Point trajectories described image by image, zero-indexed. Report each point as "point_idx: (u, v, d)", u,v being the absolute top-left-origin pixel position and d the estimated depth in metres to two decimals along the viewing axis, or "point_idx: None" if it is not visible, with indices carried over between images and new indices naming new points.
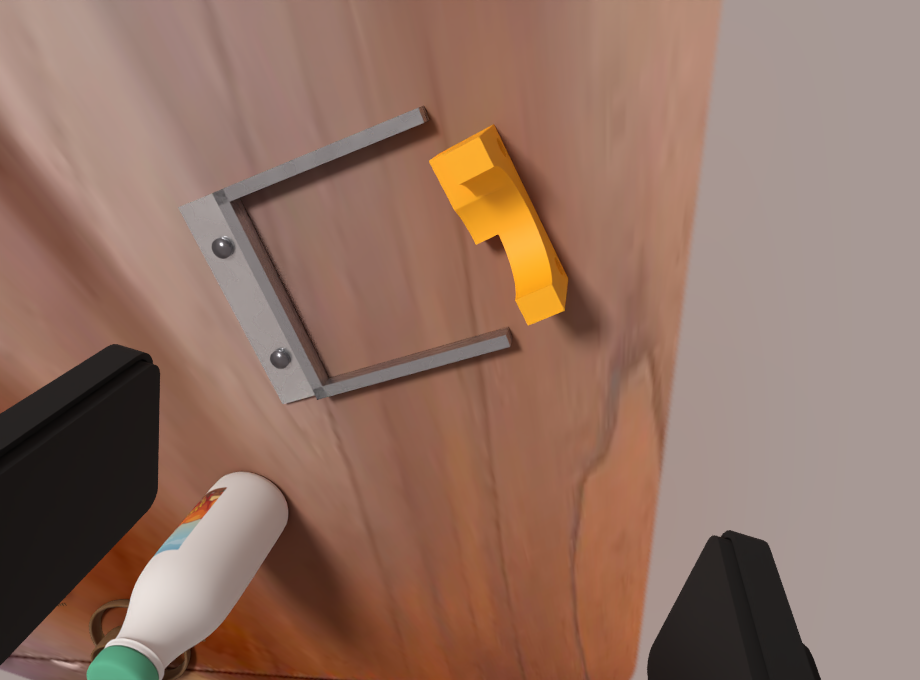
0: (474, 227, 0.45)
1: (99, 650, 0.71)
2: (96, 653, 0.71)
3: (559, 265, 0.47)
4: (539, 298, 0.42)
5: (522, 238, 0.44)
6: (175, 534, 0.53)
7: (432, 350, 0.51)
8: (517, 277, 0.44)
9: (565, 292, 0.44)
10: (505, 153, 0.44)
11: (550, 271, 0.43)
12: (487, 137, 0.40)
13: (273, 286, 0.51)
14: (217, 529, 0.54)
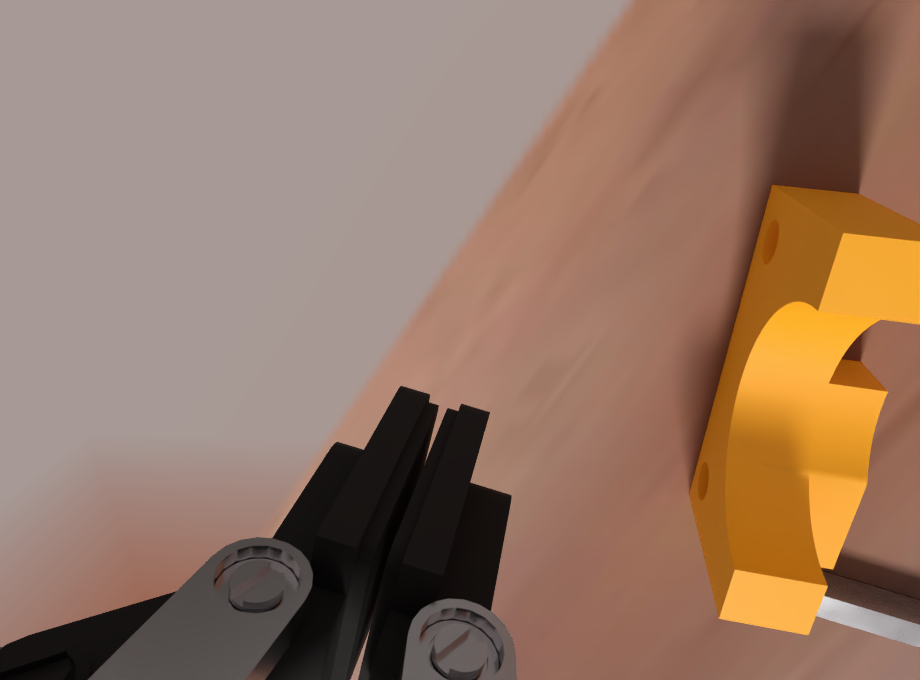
0: (860, 421, 0.21)
1: None
2: None
3: (767, 231, 0.21)
4: (874, 296, 0.15)
5: (792, 353, 0.20)
6: None
7: None
8: (873, 317, 0.18)
9: (802, 213, 0.18)
10: (704, 461, 0.24)
11: (795, 301, 0.17)
12: (709, 560, 0.22)
13: None
14: None
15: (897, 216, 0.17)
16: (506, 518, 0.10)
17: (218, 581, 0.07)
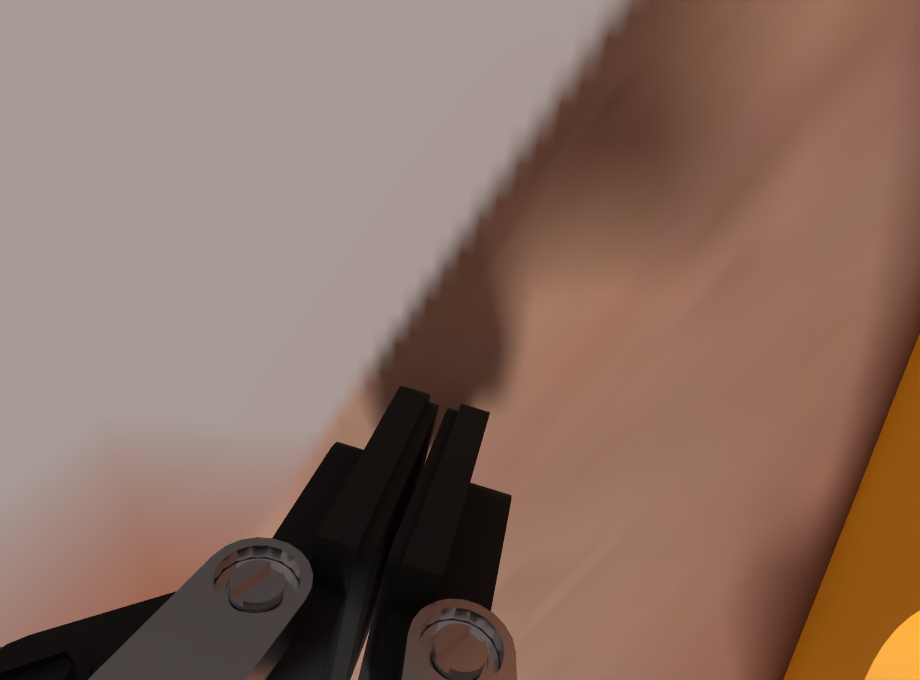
0: None
1: None
2: None
3: None
4: None
5: None
6: None
7: None
8: None
9: None
10: None
11: None
12: None
13: None
14: None
15: None
16: (506, 518, 0.10)
17: (218, 581, 0.07)
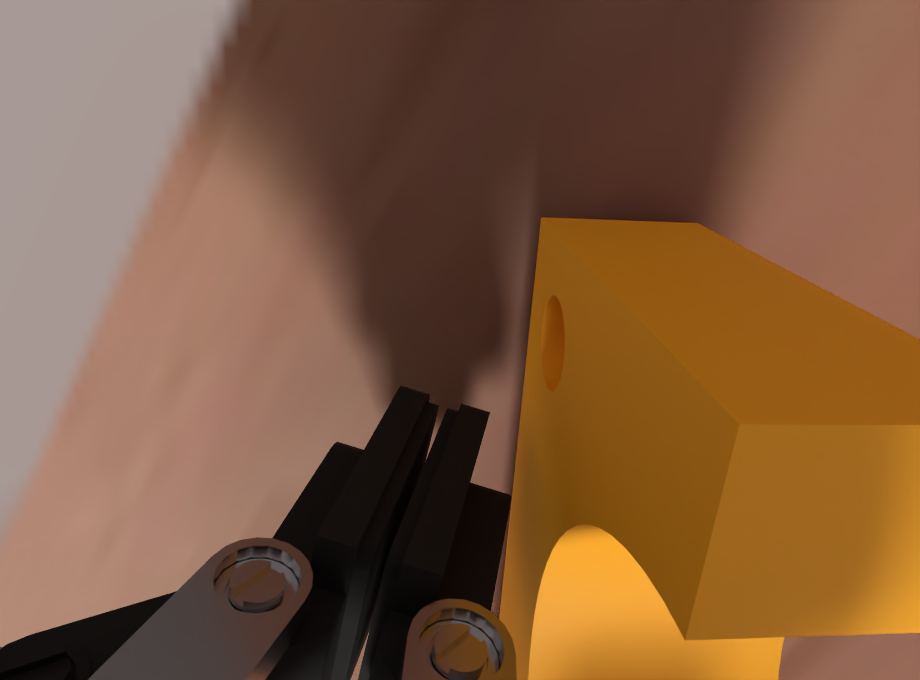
0: (755, 650, 0.11)
1: None
2: None
3: (546, 314, 0.10)
4: (836, 583, 0.05)
5: (622, 565, 0.10)
6: None
7: None
8: None
9: (605, 303, 0.07)
10: None
11: (616, 532, 0.07)
12: None
13: None
14: None
15: (811, 291, 0.07)
16: (506, 518, 0.10)
17: (218, 581, 0.07)
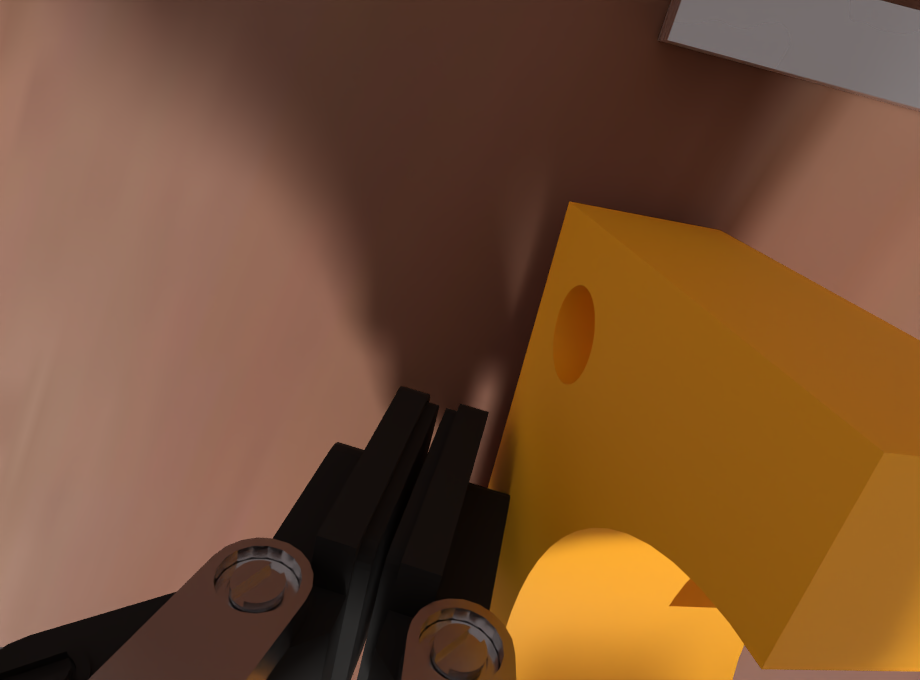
0: (714, 658, 0.11)
1: None
2: None
3: (563, 304, 0.10)
4: (917, 621, 0.05)
5: (610, 568, 0.10)
6: None
7: None
8: None
9: (668, 301, 0.07)
10: None
11: (655, 542, 0.07)
12: None
13: None
14: None
15: (862, 315, 0.07)
16: (505, 518, 0.10)
17: (219, 581, 0.07)
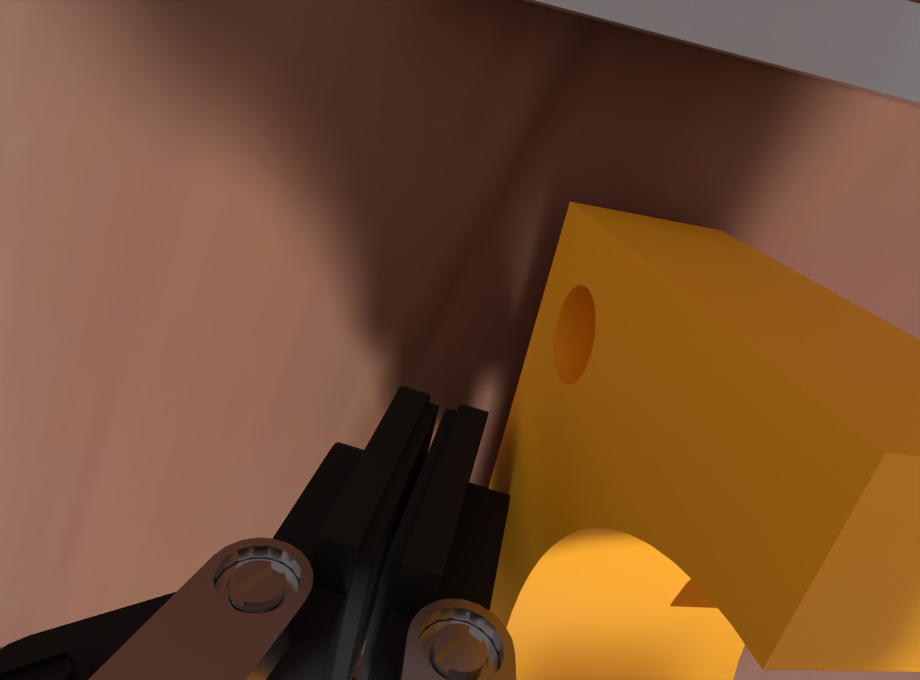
0: (715, 659, 0.11)
1: None
2: None
3: (564, 304, 0.10)
4: (918, 621, 0.05)
5: (611, 568, 0.10)
6: None
7: (844, 85, 0.09)
8: None
9: (669, 301, 0.07)
10: None
11: (655, 542, 0.07)
12: None
13: None
14: None
15: (863, 315, 0.07)
16: (505, 518, 0.10)
17: (219, 581, 0.07)
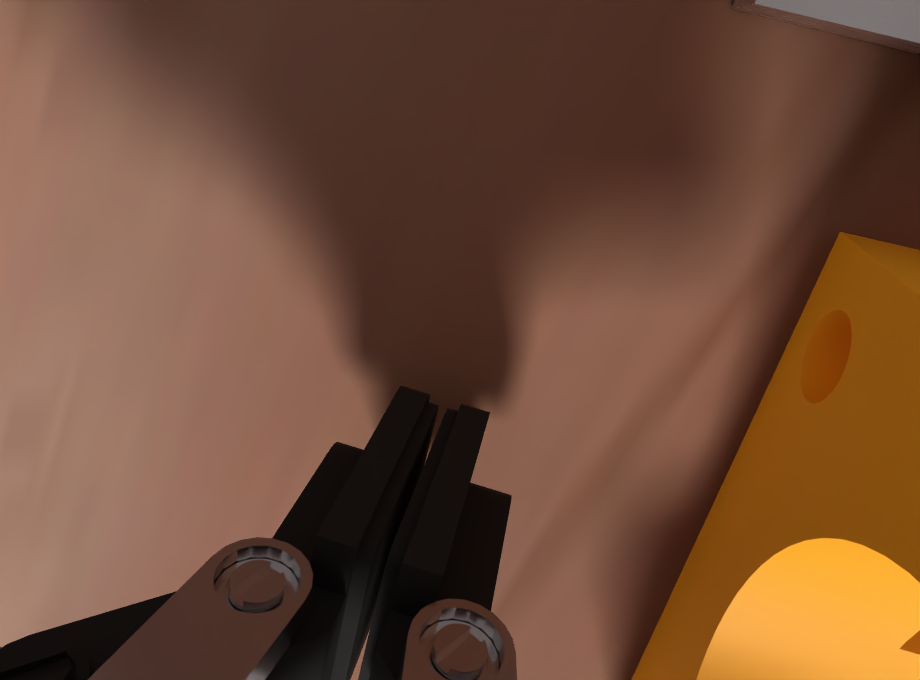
0: None
1: None
2: None
3: (818, 326, 0.10)
4: None
5: (837, 592, 0.10)
6: None
7: None
8: None
9: None
10: None
11: (891, 555, 0.07)
12: None
13: None
14: None
15: None
16: (506, 518, 0.10)
17: (218, 581, 0.07)
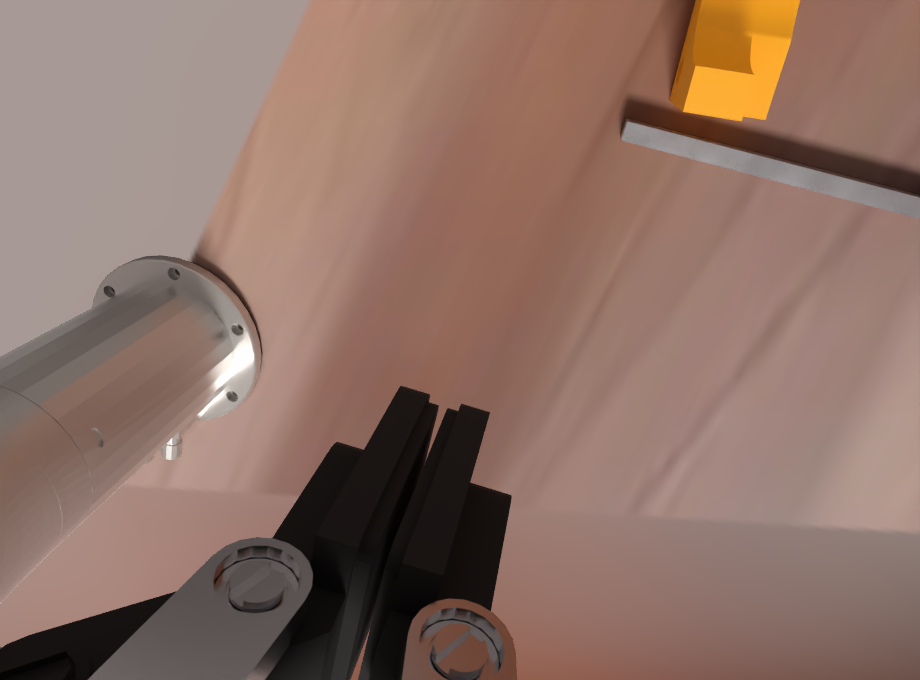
0: None
1: None
2: None
3: None
4: None
5: None
6: None
7: None
8: None
9: None
10: (682, 60, 0.34)
11: None
12: (679, 99, 0.31)
13: None
14: None
15: None
16: (506, 518, 0.10)
17: (218, 581, 0.07)
